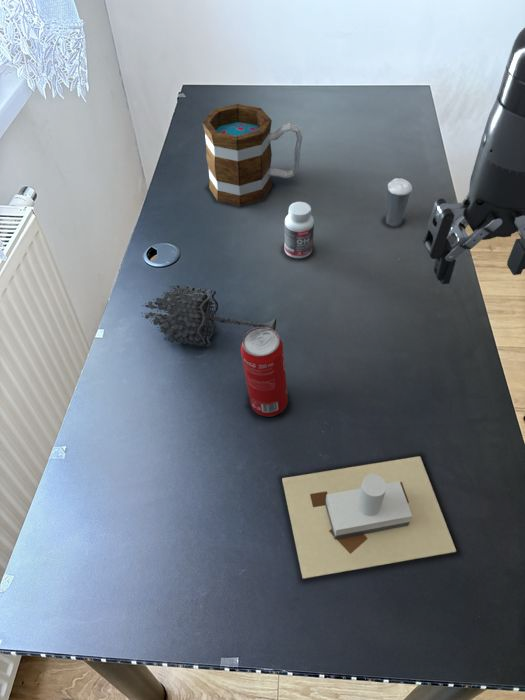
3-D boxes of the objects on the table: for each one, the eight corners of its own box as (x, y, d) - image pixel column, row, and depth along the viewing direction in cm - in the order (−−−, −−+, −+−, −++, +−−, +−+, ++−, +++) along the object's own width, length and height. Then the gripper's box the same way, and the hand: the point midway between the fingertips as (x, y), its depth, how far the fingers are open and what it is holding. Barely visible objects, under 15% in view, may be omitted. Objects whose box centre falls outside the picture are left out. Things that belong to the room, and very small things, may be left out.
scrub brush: (396, 491, 81) (406, 460, 75) (408, 525, 78) (420, 496, 72) (325, 504, 80) (329, 474, 74) (334, 539, 77) (339, 511, 71)
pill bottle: (299, 263, 112) (301, 221, 104) (278, 250, 114) (278, 208, 107) (318, 249, 114) (321, 207, 107) (296, 237, 117) (298, 195, 109)
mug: (207, 207, 123) (200, 140, 112) (210, 169, 132) (203, 104, 121) (302, 204, 123) (305, 138, 112) (298, 167, 132) (300, 102, 120)
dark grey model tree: (269, 367, 96) (268, 328, 89) (139, 349, 99) (128, 310, 92) (279, 325, 102) (279, 285, 95) (156, 309, 105) (147, 269, 98)
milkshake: (375, 216, 120) (381, 173, 113) (400, 212, 121) (408, 169, 113) (382, 230, 117) (389, 187, 110) (408, 226, 118) (417, 183, 110)
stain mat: (419, 456, 85) (420, 456, 85) (456, 552, 76) (456, 551, 76) (281, 478, 83) (282, 478, 83) (302, 579, 74) (302, 578, 74)
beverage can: (294, 408, 91) (296, 344, 79) (257, 426, 89) (254, 363, 77) (274, 381, 94) (274, 316, 83) (238, 398, 92) (232, 334, 81)
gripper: (465, 178, 53) (429, 306, 65) (615, 160, 54) (552, 289, 67) (435, 133, 58) (407, 260, 70) (574, 118, 59) (522, 246, 71)
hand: (478, 274), depth 68 cm, fingers open, 8 cm apart
